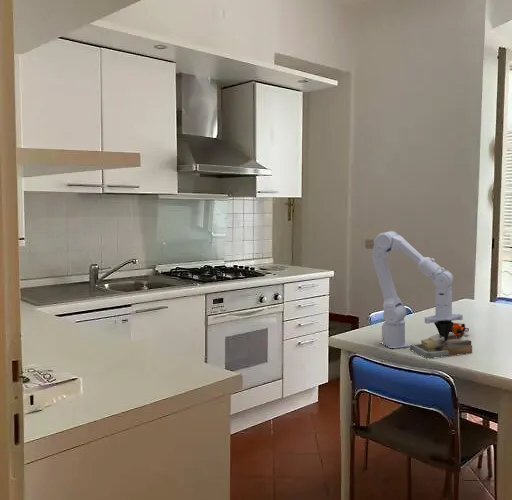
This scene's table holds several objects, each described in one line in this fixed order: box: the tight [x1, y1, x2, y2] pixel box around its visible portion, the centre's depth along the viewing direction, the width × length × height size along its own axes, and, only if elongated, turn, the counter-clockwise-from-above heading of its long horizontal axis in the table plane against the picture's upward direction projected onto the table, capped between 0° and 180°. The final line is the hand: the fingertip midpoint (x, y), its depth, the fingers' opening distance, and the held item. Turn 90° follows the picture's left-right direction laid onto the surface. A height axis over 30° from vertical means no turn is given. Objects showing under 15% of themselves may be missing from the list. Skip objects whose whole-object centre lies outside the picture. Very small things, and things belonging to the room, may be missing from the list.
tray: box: [409, 343, 450, 359], centre depth 204 cm, size 12×8×2 cm
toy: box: [449, 322, 470, 337], centre depth 226 cm, size 8×6×15 cm
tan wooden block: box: [420, 338, 435, 352], centre depth 204 cm, size 4×4×3 cm
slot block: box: [435, 333, 473, 356], centre depth 206 cm, size 12×10×4 cm
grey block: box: [427, 333, 445, 348], centre depth 204 cm, size 4×4×3 cm
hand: (443, 340), depth 205 cm, fingers closed
